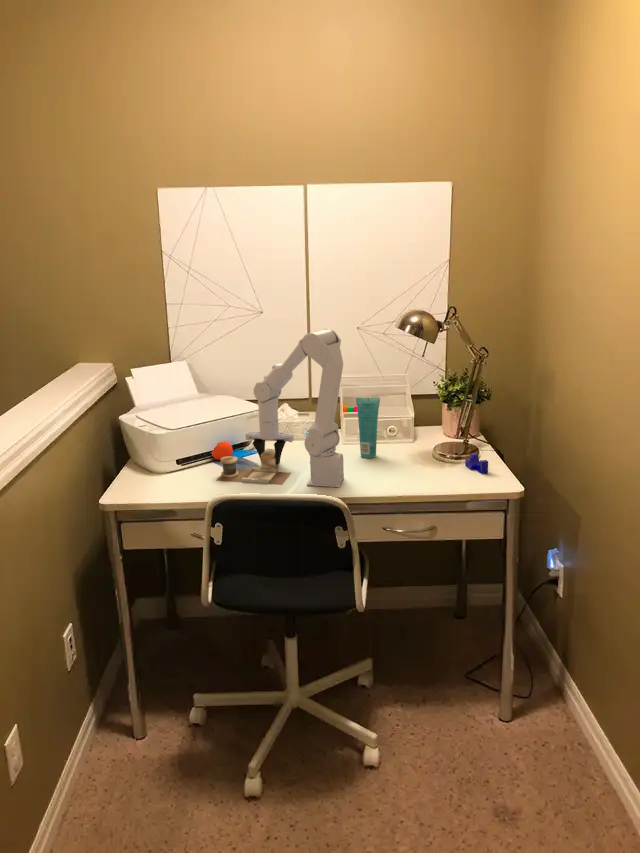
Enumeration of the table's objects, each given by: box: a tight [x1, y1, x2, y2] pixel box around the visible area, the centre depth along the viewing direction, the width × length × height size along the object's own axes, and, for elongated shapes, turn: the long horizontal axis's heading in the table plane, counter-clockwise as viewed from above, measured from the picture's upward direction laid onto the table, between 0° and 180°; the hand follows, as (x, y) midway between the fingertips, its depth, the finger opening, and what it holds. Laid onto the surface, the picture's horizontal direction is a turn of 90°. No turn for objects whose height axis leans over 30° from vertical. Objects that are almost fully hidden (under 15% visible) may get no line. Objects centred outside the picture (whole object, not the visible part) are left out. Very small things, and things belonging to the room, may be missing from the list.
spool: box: [219, 455, 239, 478], centre depth 216 cm, size 5×5×5 cm
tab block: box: [260, 448, 279, 469], centre depth 223 cm, size 4×6×5 cm
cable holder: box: [464, 452, 489, 475], centre depth 220 cm, size 8×4×4 cm, turn 14°
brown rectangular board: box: [215, 466, 292, 486], centre depth 215 cm, size 20×10×2 cm, turn 77°
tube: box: [355, 397, 381, 459], centre depth 232 cm, size 7×5×19 cm, turn 91°
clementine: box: [210, 440, 234, 460], centre depth 232 cm, size 8×7×7 cm
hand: (270, 463), depth 224 cm, fingers closed on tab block, 4 cm apart
